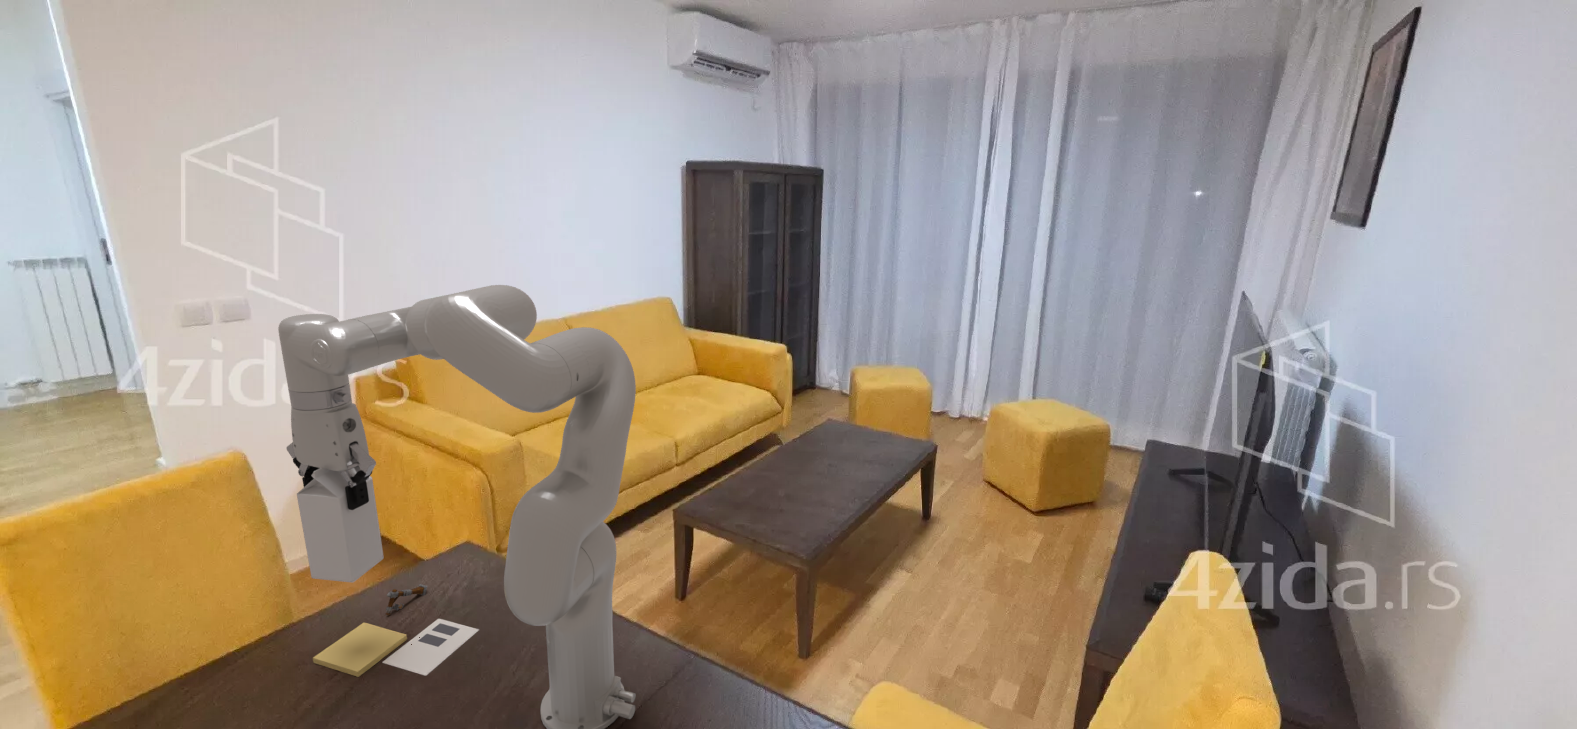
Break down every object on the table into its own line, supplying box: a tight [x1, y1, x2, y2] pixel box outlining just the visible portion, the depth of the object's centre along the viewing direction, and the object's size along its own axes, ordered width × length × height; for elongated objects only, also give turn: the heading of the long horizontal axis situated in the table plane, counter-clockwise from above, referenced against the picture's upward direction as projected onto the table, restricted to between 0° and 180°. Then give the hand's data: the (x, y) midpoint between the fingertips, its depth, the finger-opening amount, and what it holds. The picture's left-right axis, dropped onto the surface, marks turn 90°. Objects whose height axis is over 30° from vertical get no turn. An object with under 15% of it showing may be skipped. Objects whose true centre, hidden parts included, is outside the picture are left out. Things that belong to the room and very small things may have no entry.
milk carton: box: [296, 461, 384, 583], centre depth 104 cm, size 7×7×19 cm
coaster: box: [312, 622, 408, 678], centre depth 111 cm, size 10×10×1 cm
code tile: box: [382, 618, 480, 677], centre depth 113 cm, size 9×12×1 cm
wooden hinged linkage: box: [385, 583, 428, 616], centre depth 123 cm, size 2×8×4 cm, turn 161°
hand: (337, 500), depth 103 cm, fingers closed on milk carton, 8 cm apart
